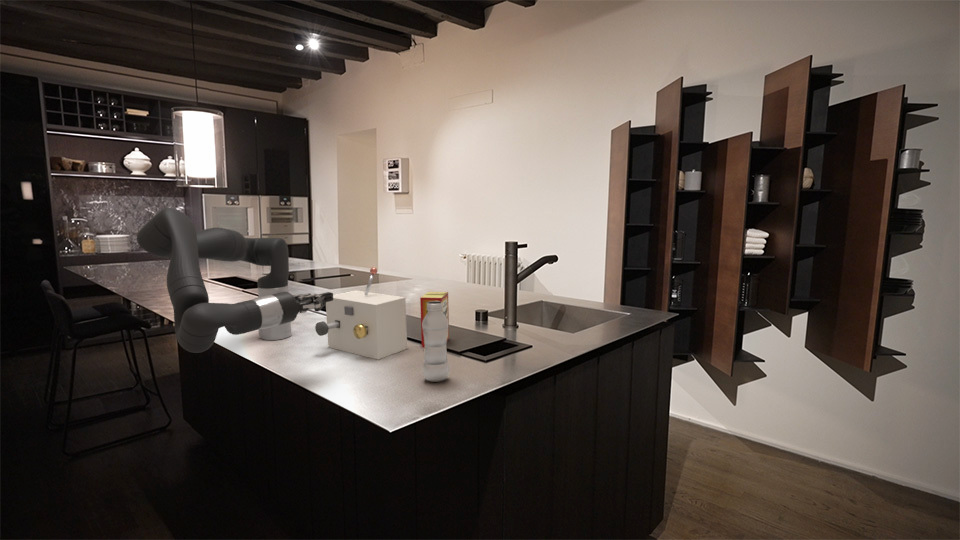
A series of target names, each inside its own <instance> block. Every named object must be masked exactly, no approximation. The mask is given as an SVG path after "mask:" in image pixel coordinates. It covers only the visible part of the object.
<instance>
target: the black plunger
mask: <svg viewBox="0 0 960 540" xmlns="http://www.w3.org/2000/svg"><path fill="white" fill-rule="evenodd" d="M339 326H340V322H339V321H338V322H334V323H330V324H327V321H323V320H322V321H319V322H316V324H315V326H314V327H315V332H316V334H317V335H318V336H319V337H321V336H324V335H325V336H326V335H328V330H329V329H332V328H336V327H339Z"/></svg>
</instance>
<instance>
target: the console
mask: <svg viewBox="0 0 960 540" xmlns="http://www.w3.org/2000/svg"><path fill="white" fill-rule="evenodd" d="M364 293H365V291H362V290H358V289H357V290H356V289H355V290H351V291H347V292H341V293H337V294H333V301H329V302H325V310H326V312H325V314H326V324H330V323H334V322H338V321H339V322H340V326H339V327H336V328H332V329H329V330H328V333H327V343H328V344H327V345H328V348H330V349H335V350H338V351H339V350H340V351H341V352H347V353H350V354H354V355H359V356H362V357H366V358H371V359H373V360H374V359H375V360H377V361H379V360H380V359H383V358H386V357H389V356H392V355H394V354H396V353H399V352H402V351H405V350H407V349H408V335H407V331H408V330H407V305H406V301H407V300H406V297H405V296H398V295H392V294H383V293H377V292H372V291H371V292H370V291H369V292H368V295H367V296H366V295H365V294H364ZM359 324H363V325H364V326H365V327H367V326H368V332H367V335H366V337H364V338H361V339H358V338H356V337H355V335H354V332H353V329H354V326H356V325H359Z"/></svg>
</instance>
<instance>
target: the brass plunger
mask: <svg viewBox="0 0 960 540" xmlns="http://www.w3.org/2000/svg"><path fill="white" fill-rule="evenodd" d="M353 332H354V335H355V337H356V338H358V339H361V338H364V337H366V335H367V332H368V326H367V327H365V326H364V325H363V324H359V325H356V326H354V329H353Z"/></svg>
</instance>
